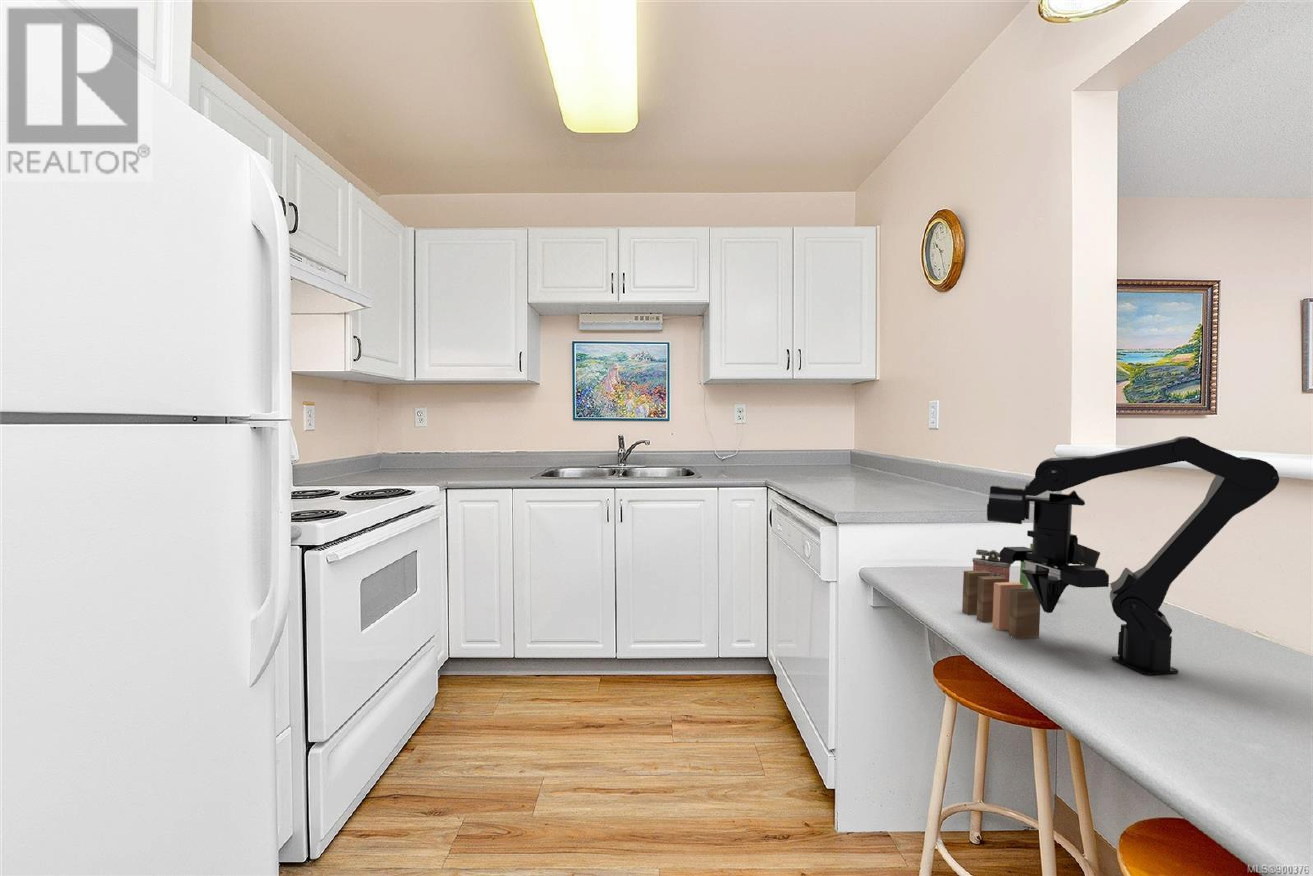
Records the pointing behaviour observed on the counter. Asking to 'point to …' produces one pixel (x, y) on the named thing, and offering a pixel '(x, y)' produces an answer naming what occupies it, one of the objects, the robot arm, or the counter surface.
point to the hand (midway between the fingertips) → (1048, 612)
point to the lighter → (991, 564)
